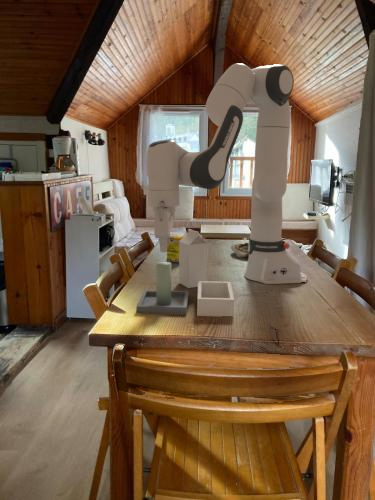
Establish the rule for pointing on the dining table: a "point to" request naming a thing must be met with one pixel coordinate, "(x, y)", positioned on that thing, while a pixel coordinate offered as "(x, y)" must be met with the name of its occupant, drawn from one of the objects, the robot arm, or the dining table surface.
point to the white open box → (215, 299)
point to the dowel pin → (163, 283)
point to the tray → (150, 306)
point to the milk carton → (192, 259)
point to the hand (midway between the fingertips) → (165, 248)
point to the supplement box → (173, 249)
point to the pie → (241, 250)
